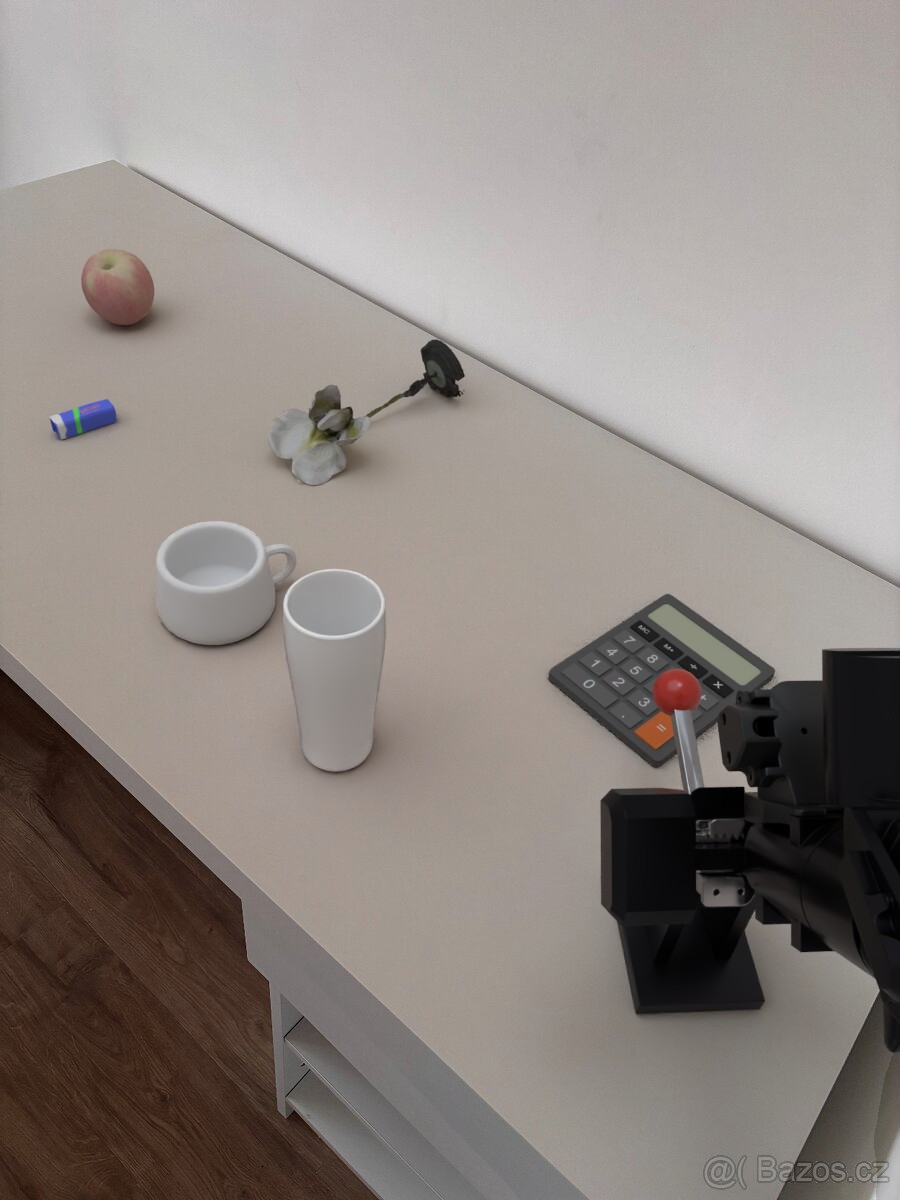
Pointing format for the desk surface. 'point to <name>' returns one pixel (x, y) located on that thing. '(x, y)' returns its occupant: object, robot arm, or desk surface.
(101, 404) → the eraser
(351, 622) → the drinking glass
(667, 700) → the lever
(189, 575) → the mug
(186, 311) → the desk surface
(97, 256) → the apple
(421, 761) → the desk surface
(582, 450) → the desk surface
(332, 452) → the artificial flower
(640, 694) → the calculator
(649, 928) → the switch bracket
